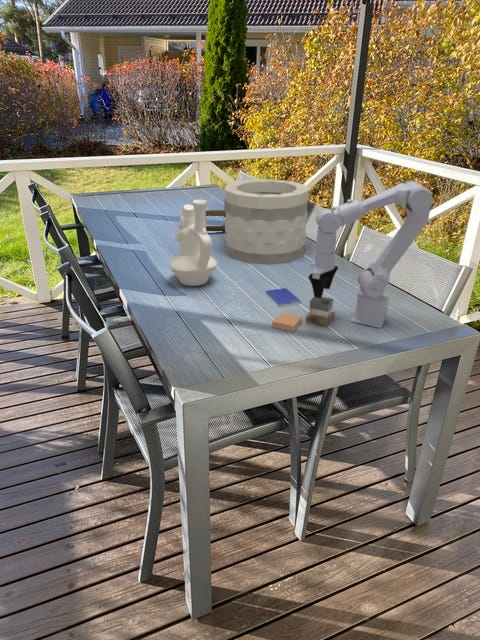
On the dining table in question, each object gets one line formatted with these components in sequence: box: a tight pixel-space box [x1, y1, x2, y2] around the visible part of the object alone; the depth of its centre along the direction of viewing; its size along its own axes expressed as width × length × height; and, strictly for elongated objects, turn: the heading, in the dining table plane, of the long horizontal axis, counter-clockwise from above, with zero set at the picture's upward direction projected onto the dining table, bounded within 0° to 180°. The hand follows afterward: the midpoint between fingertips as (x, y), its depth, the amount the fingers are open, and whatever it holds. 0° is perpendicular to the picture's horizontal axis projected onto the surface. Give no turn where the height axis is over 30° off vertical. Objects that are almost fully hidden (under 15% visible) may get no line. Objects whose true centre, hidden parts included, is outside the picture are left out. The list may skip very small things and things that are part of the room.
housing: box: [308, 296, 334, 319], centre depth 156 cm, size 6×4×5 cm
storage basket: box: [223, 179, 310, 266], centre depth 212 cm, size 35×35×27 cm
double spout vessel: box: [168, 199, 218, 287], centre depth 178 cm, size 18×22×32 cm
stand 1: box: [271, 312, 303, 333], centre depth 155 cm, size 7×7×2 cm
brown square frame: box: [206, 209, 226, 231], centre depth 252 cm, size 31×31×5 cm
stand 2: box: [305, 311, 335, 328], centre depth 158 cm, size 7×7×2 cm
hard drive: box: [265, 287, 302, 308], centre depth 173 cm, size 2×8×12 cm
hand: (322, 292), depth 154 cm, fingers open, 7 cm apart
